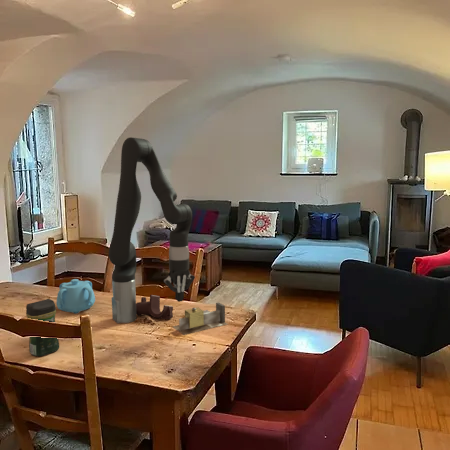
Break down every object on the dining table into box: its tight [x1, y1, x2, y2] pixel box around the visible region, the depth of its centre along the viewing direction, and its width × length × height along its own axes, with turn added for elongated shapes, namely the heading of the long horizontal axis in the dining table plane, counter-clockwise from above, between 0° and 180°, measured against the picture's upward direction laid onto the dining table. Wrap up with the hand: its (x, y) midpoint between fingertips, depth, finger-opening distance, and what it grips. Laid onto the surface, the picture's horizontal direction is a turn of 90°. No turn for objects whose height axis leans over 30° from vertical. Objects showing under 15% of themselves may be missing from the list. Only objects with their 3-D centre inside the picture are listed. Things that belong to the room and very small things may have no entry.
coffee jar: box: [25, 298, 60, 357], centre depth 162 cm, size 10×8×19 cm
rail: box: [172, 301, 229, 336], centre depth 183 cm, size 20×10×8 cm, turn 122°
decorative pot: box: [55, 278, 96, 314], centre depth 205 cm, size 16×16×14 cm
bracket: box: [136, 294, 174, 320], centre depth 195 cm, size 6×17×10 cm, turn 66°
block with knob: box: [184, 307, 204, 328], centre depth 181 cm, size 6×4×7 cm
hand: (179, 300), depth 178 cm, fingers closed
